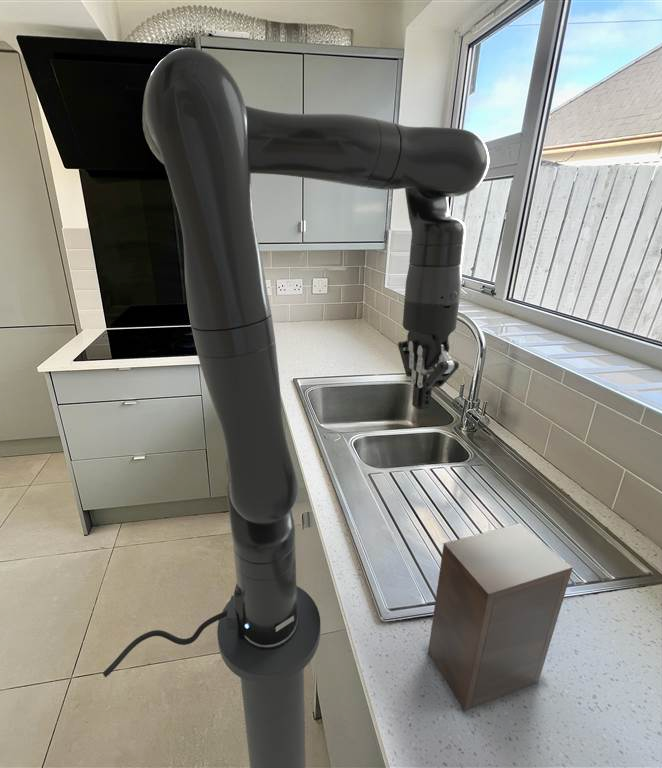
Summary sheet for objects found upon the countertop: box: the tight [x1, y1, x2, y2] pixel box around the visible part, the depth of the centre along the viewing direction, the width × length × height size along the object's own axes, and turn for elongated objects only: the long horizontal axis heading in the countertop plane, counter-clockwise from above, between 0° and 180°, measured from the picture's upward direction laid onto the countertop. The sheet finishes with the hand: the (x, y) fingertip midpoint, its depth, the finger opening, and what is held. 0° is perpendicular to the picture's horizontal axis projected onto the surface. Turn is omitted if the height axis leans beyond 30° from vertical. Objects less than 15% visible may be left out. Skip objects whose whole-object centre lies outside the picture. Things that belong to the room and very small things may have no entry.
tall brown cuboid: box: [427, 522, 573, 712], centre depth 53 cm, size 8×12×20 cm
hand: (420, 407), depth 64 cm, fingers closed
